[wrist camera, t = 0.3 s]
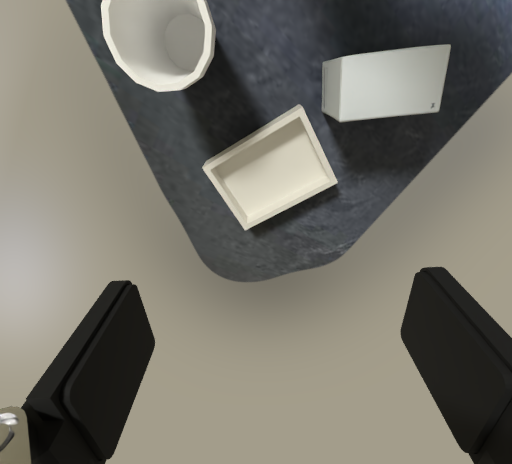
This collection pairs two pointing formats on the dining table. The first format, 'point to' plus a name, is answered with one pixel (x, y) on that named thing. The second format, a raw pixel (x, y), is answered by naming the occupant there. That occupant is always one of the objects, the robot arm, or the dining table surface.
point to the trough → (271, 169)
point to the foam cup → (160, 40)
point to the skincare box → (385, 83)
